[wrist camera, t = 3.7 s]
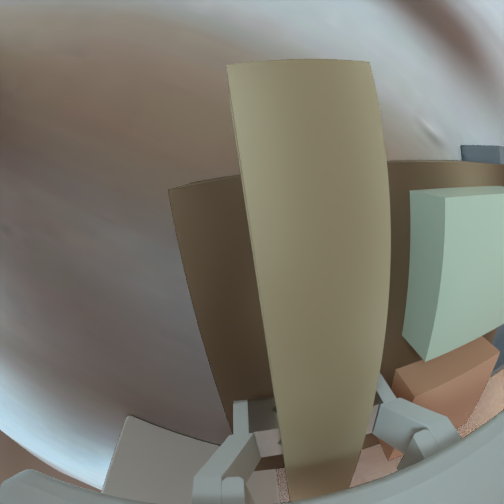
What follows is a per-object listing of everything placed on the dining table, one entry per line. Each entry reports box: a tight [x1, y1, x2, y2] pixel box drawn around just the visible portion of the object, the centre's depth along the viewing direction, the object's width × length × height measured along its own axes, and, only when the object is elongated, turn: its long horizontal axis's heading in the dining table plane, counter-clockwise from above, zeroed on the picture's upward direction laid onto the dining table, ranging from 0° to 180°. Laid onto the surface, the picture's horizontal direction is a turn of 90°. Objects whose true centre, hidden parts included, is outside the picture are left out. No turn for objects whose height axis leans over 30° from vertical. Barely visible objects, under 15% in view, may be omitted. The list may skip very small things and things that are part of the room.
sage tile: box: [402, 186, 504, 362], centre depth 8 cm, size 6×6×2 cm
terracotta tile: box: [377, 336, 500, 461], centre depth 11 cm, size 6×6×2 cm
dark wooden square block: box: [168, 160, 504, 471], centre depth 13 cm, size 16×16×5 cm
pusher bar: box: [226, 59, 391, 501], centre depth 8 cm, size 2×20×4 cm, turn 8°
